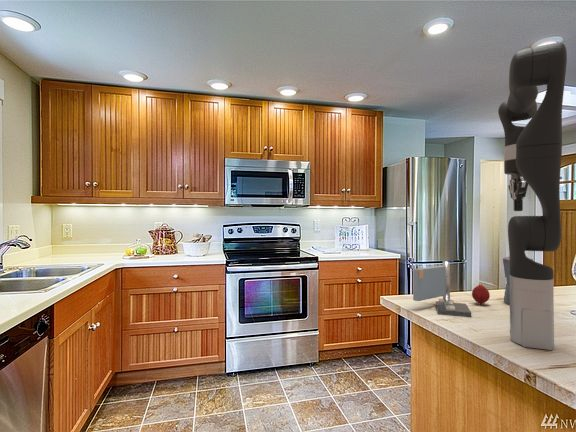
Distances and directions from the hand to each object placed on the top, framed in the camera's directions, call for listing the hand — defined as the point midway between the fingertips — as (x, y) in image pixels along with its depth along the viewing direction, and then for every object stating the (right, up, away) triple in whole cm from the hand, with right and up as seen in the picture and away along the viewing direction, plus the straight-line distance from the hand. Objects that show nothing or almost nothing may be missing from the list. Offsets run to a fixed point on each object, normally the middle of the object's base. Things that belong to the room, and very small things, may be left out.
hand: (518, 211), depth 108 cm
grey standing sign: (-25, -32, +11) cm, 42 cm away
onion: (-4, -35, +14) cm, 38 cm away
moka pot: (+10, -35, +15) cm, 40 cm away
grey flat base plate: (-19, -35, +6) cm, 40 cm away
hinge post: (-16, -35, +16) cm, 42 cm away
